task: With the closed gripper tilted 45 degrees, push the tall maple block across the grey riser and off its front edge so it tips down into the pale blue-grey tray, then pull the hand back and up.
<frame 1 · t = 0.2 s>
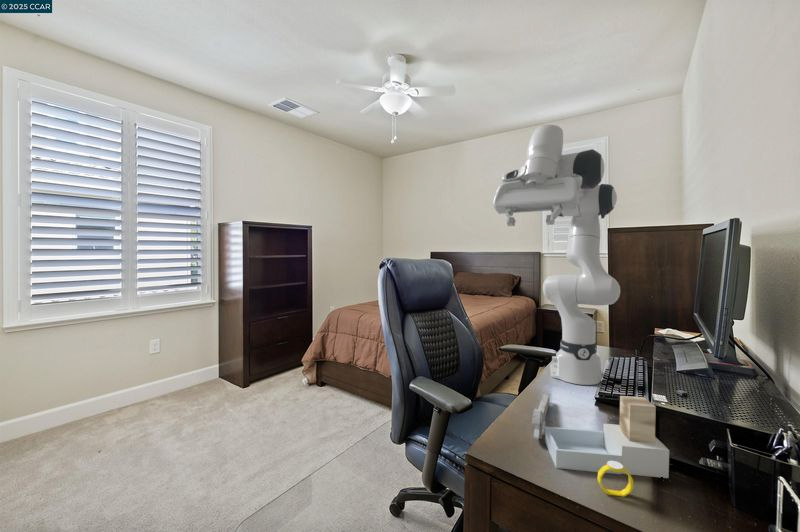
hand: (529, 224, 86), 54 cm above the table, tool tilted 30°, fingers open, 8 cm apart
riser: (633, 462, 79), on the table
wrench: (541, 423, 98), on the table
block: (636, 436, 79), point 6 cm above the table, touching riser
tray: (580, 457, 81), on the table
watch: (614, 494, 69), on the table
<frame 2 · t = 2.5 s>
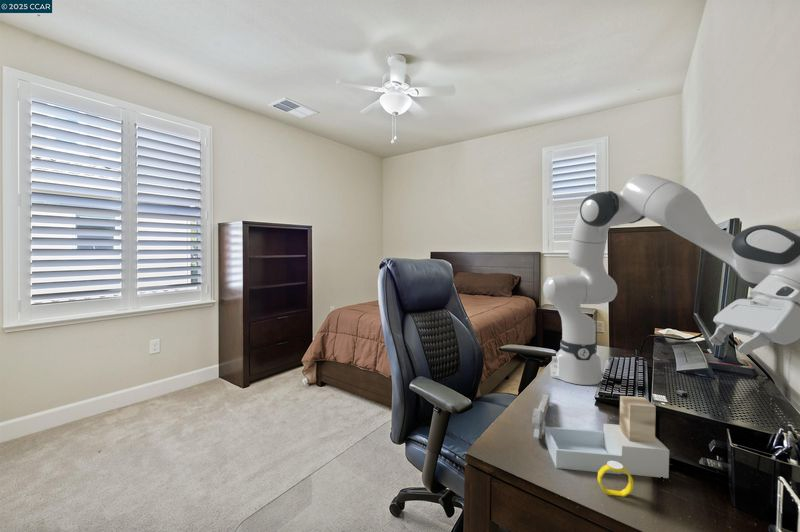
hand: (726, 347, 74), 27 cm above the table, tool tilted 40°, fingers open, 8 cm apart
nothing on the table moved.
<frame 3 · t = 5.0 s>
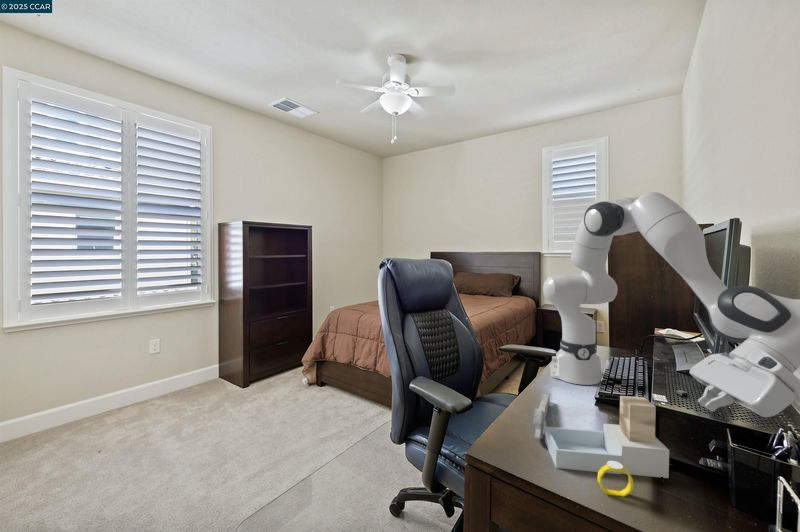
hand: (704, 406, 76), 14 cm above the table, tool tilted 45°, fingers closed
nothing on the table moved.
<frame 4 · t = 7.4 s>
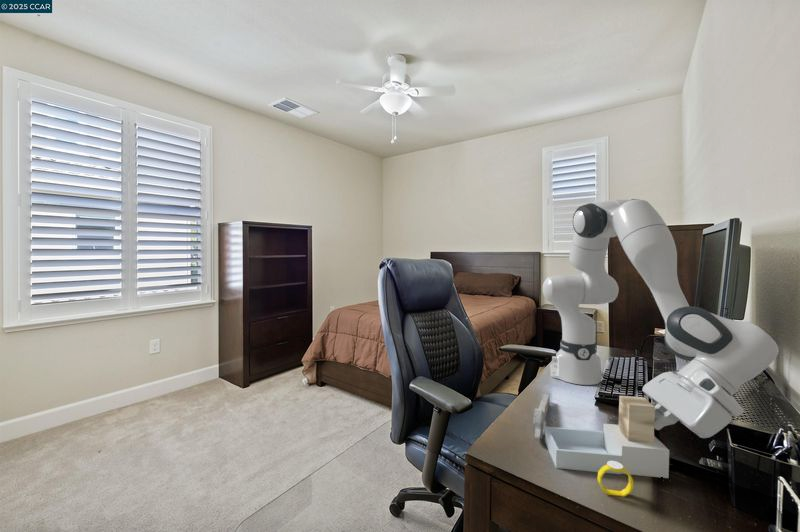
hand: (651, 424, 78), 9 cm above the table, tool tilted 45°, fingers closed, pressing on block
block: (635, 436, 79), point 6 cm above the table, touching gripper
everything else where it was.
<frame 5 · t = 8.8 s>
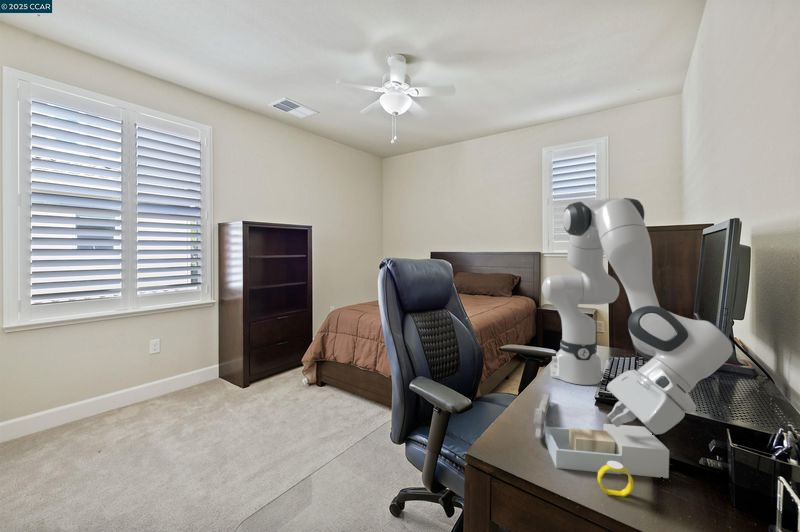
hand: (611, 421, 80), 9 cm above the table, tool tilted 45°, fingers closed
block: (610, 447, 80), point 3 cm above the table, tilted 90°, touching tray
everything else where it was.
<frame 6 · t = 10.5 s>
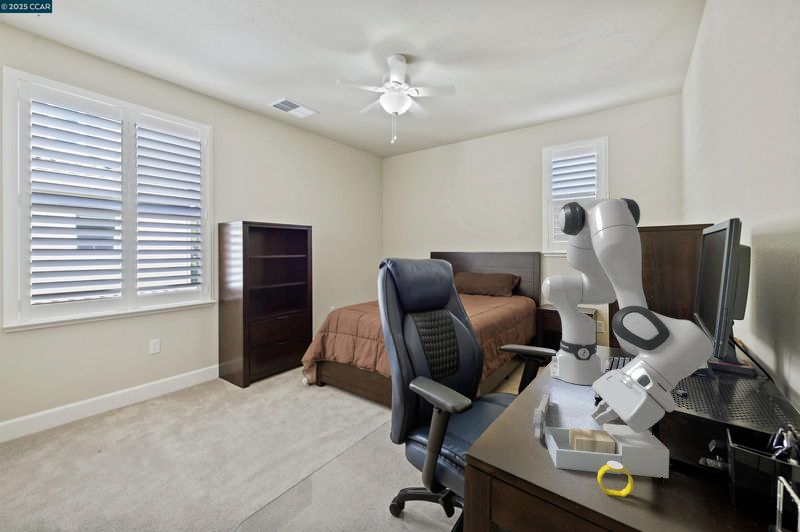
hand: (595, 420, 80), 9 cm above the table, tool tilted 45°, fingers closed
nothing on the table moved.
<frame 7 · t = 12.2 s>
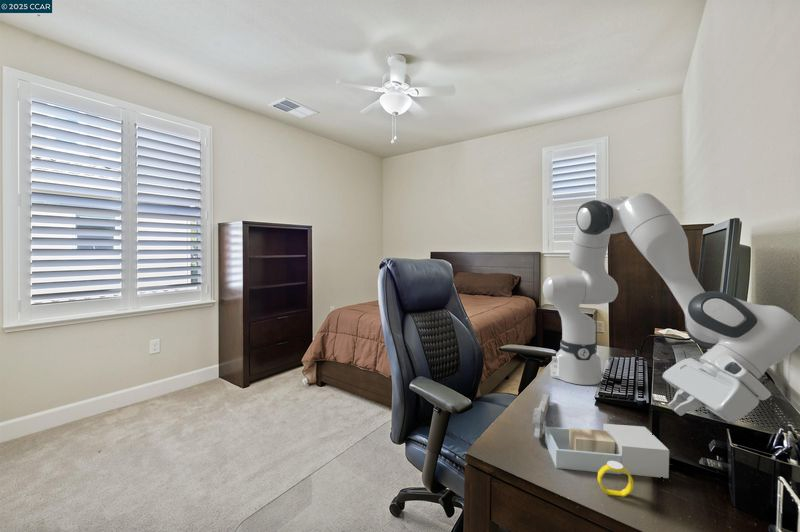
hand: (673, 410, 77), 12 cm above the table, tool tilted 45°, fingers closed
nothing on the table moved.
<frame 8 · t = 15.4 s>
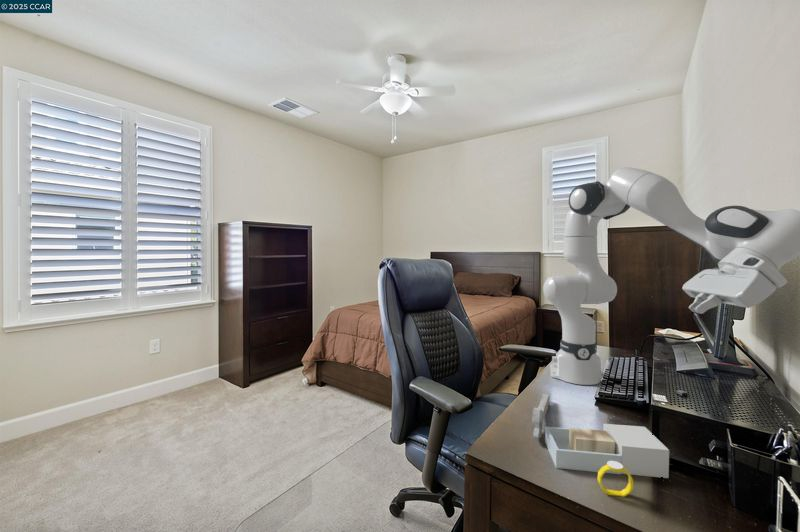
hand: (694, 310, 83), 33 cm above the table, tool tilted 45°, fingers closed
nothing on the table moved.
at the end: block inside the target area (6.0 cm from its centre), point 3.1 cm above the table; block touching tray; the gripper is holding nothing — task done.
